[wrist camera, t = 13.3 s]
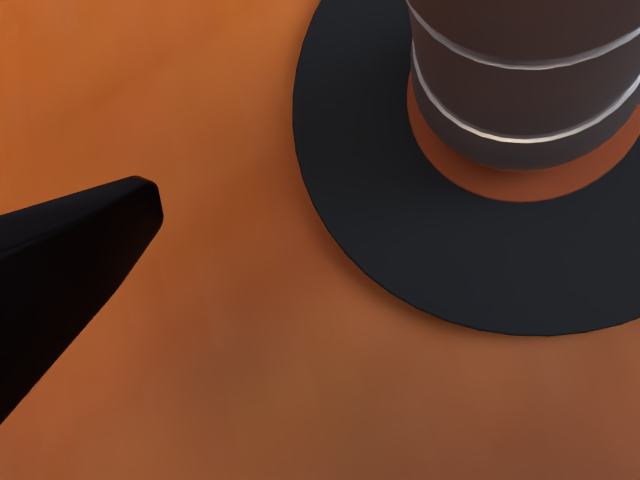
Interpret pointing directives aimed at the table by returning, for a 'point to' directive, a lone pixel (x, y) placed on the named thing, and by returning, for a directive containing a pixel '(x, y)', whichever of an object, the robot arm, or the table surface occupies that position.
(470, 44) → the plastic bottle
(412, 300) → the ring
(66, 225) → the robot arm
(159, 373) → the table surface
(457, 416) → the table surface
